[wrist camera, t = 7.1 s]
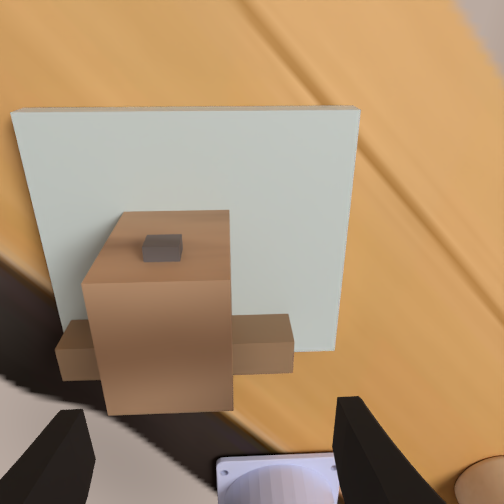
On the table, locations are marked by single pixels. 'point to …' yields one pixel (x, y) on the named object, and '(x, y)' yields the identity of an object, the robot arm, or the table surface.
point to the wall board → (201, 198)
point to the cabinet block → (163, 313)
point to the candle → (482, 483)
